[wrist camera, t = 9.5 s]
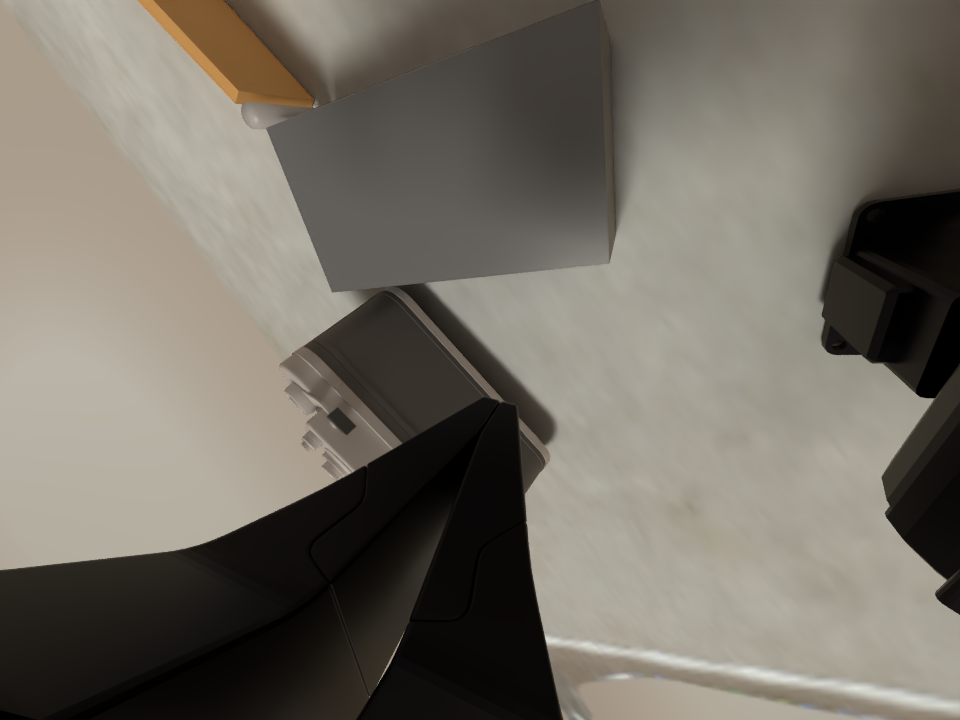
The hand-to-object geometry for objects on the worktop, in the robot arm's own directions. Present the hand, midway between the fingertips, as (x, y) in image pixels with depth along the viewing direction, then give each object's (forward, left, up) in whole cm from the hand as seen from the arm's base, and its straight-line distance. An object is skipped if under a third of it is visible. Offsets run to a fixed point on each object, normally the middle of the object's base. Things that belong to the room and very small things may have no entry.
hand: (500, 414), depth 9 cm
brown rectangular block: (+16, -15, -13) cm, 25 cm away
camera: (+10, +9, -13) cm, 19 cm away
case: (+5, -5, -13) cm, 15 cm away
